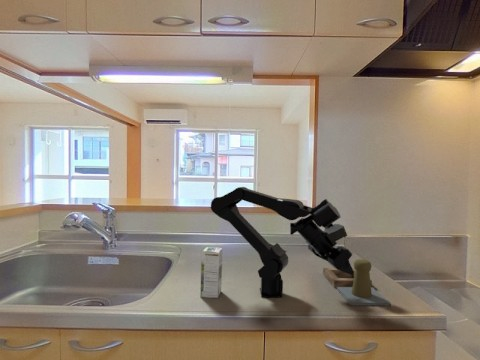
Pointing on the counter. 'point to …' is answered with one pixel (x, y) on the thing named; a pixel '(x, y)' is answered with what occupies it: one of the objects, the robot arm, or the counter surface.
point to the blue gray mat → (354, 300)
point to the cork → (362, 279)
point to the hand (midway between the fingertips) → (344, 268)
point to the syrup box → (211, 272)
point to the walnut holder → (336, 282)
